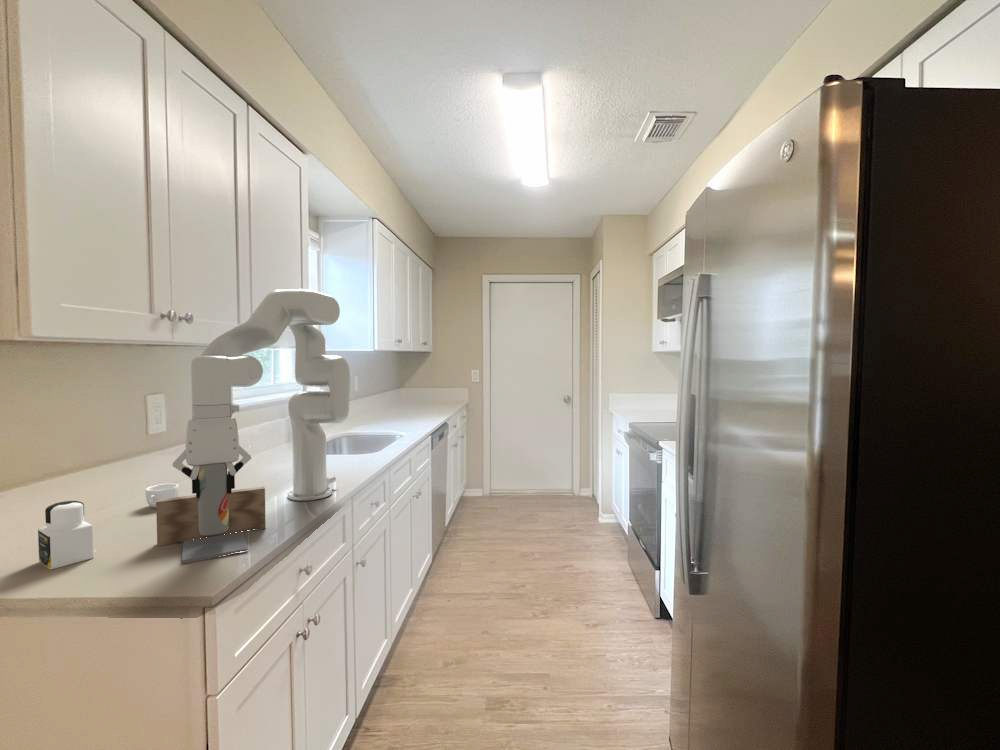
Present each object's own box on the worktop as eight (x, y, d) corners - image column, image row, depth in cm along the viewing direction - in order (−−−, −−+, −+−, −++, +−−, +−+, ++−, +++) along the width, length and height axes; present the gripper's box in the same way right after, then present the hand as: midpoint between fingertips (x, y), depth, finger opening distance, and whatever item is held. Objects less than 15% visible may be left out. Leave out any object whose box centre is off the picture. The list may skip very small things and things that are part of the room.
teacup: (155, 502, 144) (155, 483, 144) (184, 501, 145) (183, 483, 145) (135, 513, 134) (134, 493, 134) (166, 512, 135) (165, 492, 135)
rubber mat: (243, 534, 118) (243, 531, 118) (247, 552, 108) (247, 548, 108) (183, 544, 112) (183, 541, 112) (182, 564, 102) (182, 560, 102)
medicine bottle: (38, 562, 102) (36, 504, 102) (82, 550, 108) (80, 496, 108) (50, 570, 99) (47, 510, 98) (94, 558, 104) (92, 501, 104)
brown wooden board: (264, 526, 124) (263, 486, 124) (265, 528, 122) (264, 488, 122) (157, 543, 113) (156, 499, 112) (157, 546, 111) (156, 502, 111)
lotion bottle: (233, 526, 113) (231, 438, 112) (220, 535, 107) (218, 443, 106) (208, 526, 112) (205, 439, 112) (193, 536, 107) (190, 443, 106)
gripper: (254, 408, 116) (255, 485, 117) (166, 412, 107) (168, 495, 108) (257, 411, 110) (258, 492, 111) (164, 416, 101) (166, 504, 102)
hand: (213, 493), depth 109 cm, fingers closed on lotion bottle, 5 cm apart
